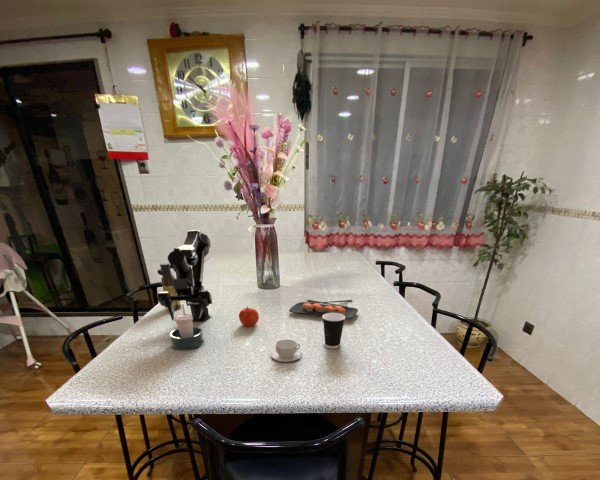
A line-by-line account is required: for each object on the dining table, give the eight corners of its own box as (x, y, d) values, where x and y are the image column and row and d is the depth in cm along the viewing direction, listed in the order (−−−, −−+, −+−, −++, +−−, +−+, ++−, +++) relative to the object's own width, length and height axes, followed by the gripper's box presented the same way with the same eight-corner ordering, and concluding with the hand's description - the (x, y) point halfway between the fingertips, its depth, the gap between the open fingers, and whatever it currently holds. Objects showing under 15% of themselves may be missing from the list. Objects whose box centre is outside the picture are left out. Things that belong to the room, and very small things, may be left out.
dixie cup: (318, 348, 127) (319, 318, 122) (325, 340, 134) (326, 311, 128) (339, 351, 125) (341, 321, 119) (346, 343, 131) (348, 314, 125)
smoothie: (200, 342, 131) (194, 304, 124) (185, 347, 128) (177, 308, 120) (191, 337, 135) (184, 300, 128) (175, 342, 131) (168, 304, 124)
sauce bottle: (178, 304, 171) (169, 261, 161) (183, 308, 167) (175, 263, 157) (165, 307, 168) (155, 263, 157) (170, 311, 164) (161, 265, 153)
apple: (256, 329, 144) (254, 309, 139) (237, 328, 145) (235, 308, 141) (261, 322, 150) (260, 303, 146) (243, 321, 152) (241, 302, 147)
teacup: (279, 365, 116) (278, 352, 114) (267, 353, 124) (266, 341, 121) (306, 359, 120) (306, 346, 118) (293, 348, 128) (292, 335, 125)
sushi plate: (286, 315, 158) (286, 306, 156) (310, 296, 182) (310, 289, 180) (350, 323, 149) (351, 314, 147) (367, 302, 172) (368, 294, 170)
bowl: (165, 347, 129) (163, 335, 127) (185, 336, 138) (182, 325, 135) (191, 352, 125) (189, 340, 123) (209, 340, 134) (208, 329, 132)
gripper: (152, 269, 124) (151, 310, 121) (206, 267, 126) (208, 308, 123) (161, 285, 135) (161, 324, 132) (211, 284, 137) (213, 321, 134)
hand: (185, 319), depth 130 cm, fingers open, 9 cm apart
